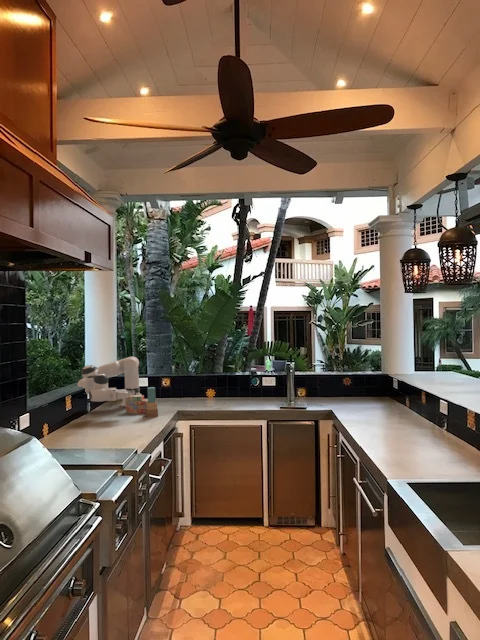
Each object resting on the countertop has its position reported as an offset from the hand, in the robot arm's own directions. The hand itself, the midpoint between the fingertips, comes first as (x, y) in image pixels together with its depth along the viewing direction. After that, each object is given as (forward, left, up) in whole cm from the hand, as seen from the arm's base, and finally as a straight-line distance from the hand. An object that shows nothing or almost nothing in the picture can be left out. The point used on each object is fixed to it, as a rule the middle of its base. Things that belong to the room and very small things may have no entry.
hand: (133, 393), depth 338 cm
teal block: (0, +12, -7) cm, 14 cm away
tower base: (0, +12, -17) cm, 21 cm away
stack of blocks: (-17, +6, -17) cm, 25 cm away
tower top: (0, +12, -12) cm, 17 cm away
